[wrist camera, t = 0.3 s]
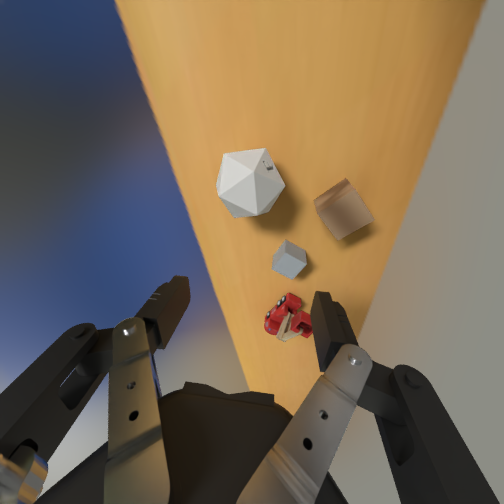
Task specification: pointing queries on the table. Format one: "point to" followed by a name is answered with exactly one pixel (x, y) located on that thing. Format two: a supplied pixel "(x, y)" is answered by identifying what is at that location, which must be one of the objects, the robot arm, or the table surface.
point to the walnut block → (342, 210)
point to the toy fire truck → (288, 319)
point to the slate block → (289, 259)
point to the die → (248, 182)
